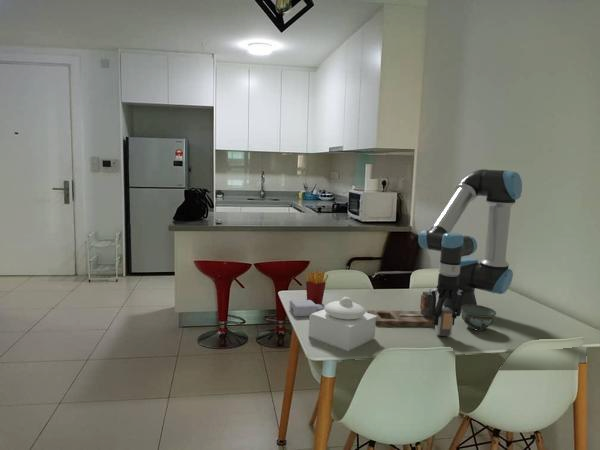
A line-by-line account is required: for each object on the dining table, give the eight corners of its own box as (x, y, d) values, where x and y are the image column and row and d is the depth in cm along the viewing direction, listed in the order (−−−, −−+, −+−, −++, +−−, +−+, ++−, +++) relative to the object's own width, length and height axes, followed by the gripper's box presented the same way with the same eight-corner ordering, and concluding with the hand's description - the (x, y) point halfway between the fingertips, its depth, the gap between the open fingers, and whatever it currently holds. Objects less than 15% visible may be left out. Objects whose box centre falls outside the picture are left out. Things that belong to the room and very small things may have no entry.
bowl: (454, 321, 196) (456, 303, 195) (486, 323, 196) (488, 305, 195) (464, 333, 182) (467, 313, 181) (499, 335, 182) (501, 316, 181)
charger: (329, 316, 193) (295, 317, 189) (322, 309, 202) (289, 310, 197) (330, 305, 192) (295, 306, 188) (322, 298, 201) (289, 299, 197)
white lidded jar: (308, 337, 169) (311, 295, 166) (336, 325, 182) (339, 286, 180) (347, 352, 158) (351, 307, 155) (375, 338, 171) (378, 297, 169)
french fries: (315, 306, 204) (317, 273, 202) (301, 301, 210) (303, 269, 207) (327, 302, 211) (330, 270, 209) (313, 298, 216) (315, 267, 214)
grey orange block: (435, 331, 179) (438, 307, 178) (445, 331, 180) (447, 307, 178) (440, 336, 175) (443, 311, 173) (450, 336, 175) (453, 311, 174)
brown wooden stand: (433, 315, 201) (436, 289, 200) (446, 326, 189) (450, 298, 187) (367, 314, 197) (369, 287, 195) (376, 325, 184) (378, 296, 183)
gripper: (431, 276, 169) (425, 336, 173) (475, 277, 172) (468, 336, 175) (423, 271, 176) (417, 329, 180) (465, 271, 179) (458, 329, 182)
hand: (442, 332), depth 177 cm, fingers closed on grey orange block, 4 cm apart
